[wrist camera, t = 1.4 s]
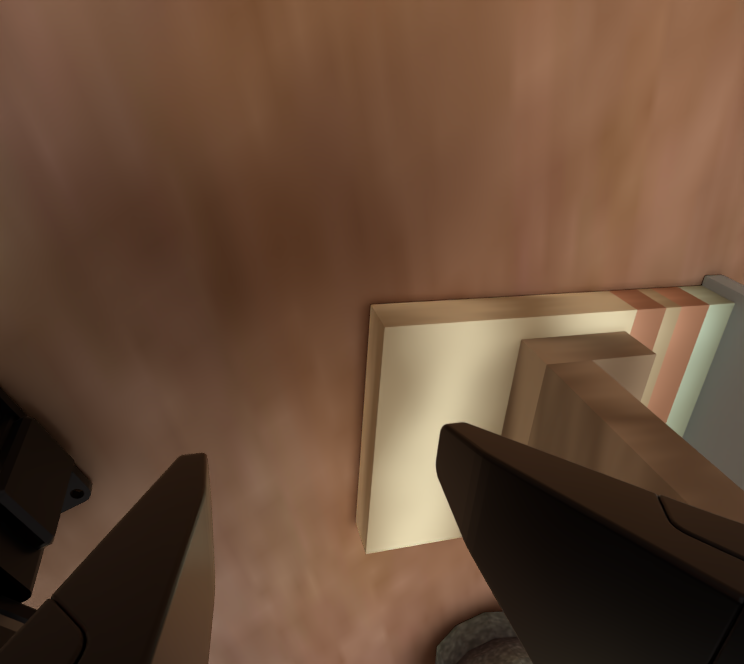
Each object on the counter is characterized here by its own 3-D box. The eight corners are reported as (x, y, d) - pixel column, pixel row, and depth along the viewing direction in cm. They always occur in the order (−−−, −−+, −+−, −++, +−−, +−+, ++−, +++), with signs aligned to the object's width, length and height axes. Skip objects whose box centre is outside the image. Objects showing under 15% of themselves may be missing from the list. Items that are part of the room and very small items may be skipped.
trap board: (355, 522, 29) (365, 553, 27) (370, 304, 23) (384, 327, 22) (632, 478, 33) (656, 503, 31) (701, 285, 28) (735, 303, 26)
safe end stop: (630, 484, 33) (709, 568, 28) (705, 275, 27) (822, 335, 22) (645, 482, 34) (725, 565, 29) (722, 274, 28) (841, 333, 23)
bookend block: (483, 519, 28) (627, 766, 19) (521, 339, 24) (736, 551, 14) (572, 504, 30) (747, 728, 20) (625, 331, 25) (883, 519, 16)
